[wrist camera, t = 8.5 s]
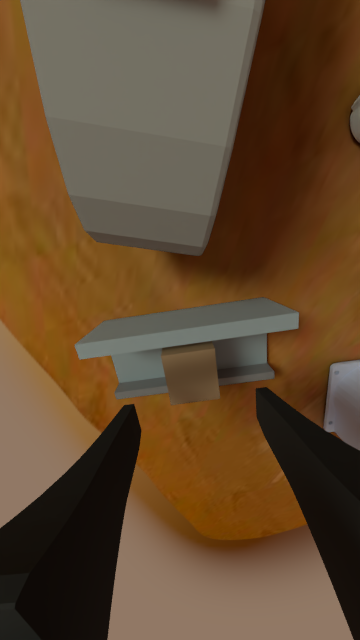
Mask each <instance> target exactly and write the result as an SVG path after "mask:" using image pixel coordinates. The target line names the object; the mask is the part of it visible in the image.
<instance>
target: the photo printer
mask: <svg viewBox="0 0 360 640" xmlns="http://www.w3.org/2000/svg"><path fill="white" fill-rule="evenodd" d="M351 109H352V110H353V111H352V114H351V116H350V127H351V131H352V134H353V136H354V138H355V139H356V140H357V141H358V142H359V143H360V95H359V97H358V98H357V99H356V101H355V102H354V104H353V105H352V107H351Z"/></svg>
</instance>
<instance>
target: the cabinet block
mask: <svg viewBox="0 0 360 640" xmlns="http://www.w3.org/2000/svg"><path fill="white" fill-rule="evenodd" d="M161 359H162V364H163V369H164V374H165V378H166V383H167V388H168V393H169V397H170V402H171V405H176V404H183V403H190V402H198V401H205V400H213V399H220V392H219V383H218V374H217V365H216V356H215V348H214V346H213V343H212V341H207V342H200V343H193V344H186V345H179V346H172V347H164V348H162V353H161Z"/></svg>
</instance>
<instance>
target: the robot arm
mask: <svg viewBox="0 0 360 640" xmlns="http://www.w3.org/2000/svg"><path fill="white" fill-rule="evenodd" d="M335 371H336V372H335ZM256 412H257V419H258V421H259V424H260V426H261V429H262V431H263V434H264V436H265V438H266V440H267V442H268V444H269V446H270V447H271V449H272V451H273V453H274V455H275V457H276V459H277V461H278V463H279V464H280V466H281V468H282V470H283V472H284V474H285V476H286V478H287V480H288V482H289V484H290V486H291V488H292V490H293V492H294V494H295V496H296V499H297V501H298V503H299V505H300V508H301V510H302V512H303V515H304V517H305V519H306V522H307V524H308V526H309V529H310V531H311V534H312V536H313V538H314V541H315V543H316V545H317V548H318V550H319V553H320V555H321V557H322V560H323V563H324V565H325V568H326V570H327V572H328V575H329V577H330V580H331V582H332V585H333V587H334V590H335V592H336V595H337V598H338V600H339V603H340V605H341V608H342V610H343V613H344V616H345V618H346V620H347V623H348V626H349V628H350V631H351V634H352V636H353V639H354V640H360V360H355V361H347V362H340V363H334V364H332V365H331V366H330V373H329V382H328V391H327V400H326V409H325V419H324V429H325V430H324V429H322V428H321V427H319V426H318V425H316V424H315V423H313V422H312V421H310V420H309V419H308V418H306V417H305V416H303V415H302V414H301V413H299V412H298V411H296V410H295V409H294V408H292V407H291V406H290V405H288V404H287V403H286V402H285V401H283V400H282V399H281V398H279V397H278V396H277V395H276V394H274V393H273V392H272V391H271V390H269V389H268V388H267V387H264V388H256ZM329 432H335V433H336V434H337V435H338V436H339V437H340V438H341V439H342V440H343V441H342V440H340V439H339V438H337V437H335V436H334V435H332V434H330V433H329ZM140 438H141V427H140V424H139V420H138V416H137V413H136V409H135V406H134V404H131V405H124V406H123V407H122V409H121V410H120V411H119V412H118V414H117V415H116V416H115V417H114V419H113V420H112V421H111V422H110V424H109V425H108V426H107V427H106V429H105V430H104V431H103V432H102V434H101V435H100V436H99V437H98V438H97V440H96V441H95V442H94V443H93V444H92V445H91V447H90V448H89V449H88V450H87V451H86V452H85V453H84V454H83V455H82V456H81V458H80V459H79V460H78V461H77V462H76V463H75V464H74V465H73V466H72V467H71V468H70V469H69V470H68V471H67V472H66V473H65V474H64V475H63V476H62V477H60V478H59V479H58V480H57V481H56V482H55V483H54V484H53V485H52V486H51V487H49V488H48V489H47V490H46V491H45V492H44V493H43V494H42V495H41V496H40V497H38V498H37V499H36V500H35V501H34V502H32V503H31V504H30V505H29V506H28V507H26V508H25V509H24V510H23V511H21V512H20V513H19V514H18V515H17V516H15V517H14V518H13V519H12V520H10V521H9V522H8V523H6V524H5V525H4V526H3V527H1V528H0V640H107V638H108V629H109V620H110V611H111V603H112V595H113V587H114V580H115V572H116V565H117V558H118V551H119V544H120V537H121V530H122V524H123V519H124V513H125V507H126V502H127V497H128V493H129V489H130V485H131V481H132V477H133V472H134V468H135V464H136V460H137V456H138V451H139V446H140Z"/></svg>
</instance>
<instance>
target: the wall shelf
mask: <svg viewBox="0 0 360 640" xmlns="http://www.w3.org/2000/svg"><path fill="white" fill-rule="evenodd" d="M298 323H299V312H297V311H294V310H292V309H290V308H287V307H285V306H283V305H281V304H278V303H276V302H274V301H271V300H269V299H267V298H264V297H262V298H255V299H248V300H241V301H235V302H228V303H221V304H215V305H208V306H201V307H194V308H188V309H181V310H174V311H168V312H161V313H154V314H147V315H141V316H134V317H127V318H120V319H114V320H107V321H103V322H102V323H101V324H100V325H98V326H97V327H96V328H95V329H93V330H92V331H91V332H90V333H89V334H87V335H86V336H85V337H84V338H82V339H81V340H80V341H79V342H77V343H76V344H75V348H76V351H77V353H78V356H79V359H87V358H94V357H101V356H108V355H111V356H112V359H113V363H114V366H115V370H116V373H117V376H118V380H119V385H118V387H117V389H116V391H115V396H116V399H123V398H130V397H138V396H145V395H153V394H160V393H168V388H167V383H166V378H165V374H164V369H163V364H162V359H161V353H162V348H164V347H172V346H179V345H186V344H193V343H200V342H207V341H212V343H213V346H214V348H215V356H216V365H217V374H218V383H219V386H221V385H229V384H236V383H244V382H251V381H259V380H266V379H274V371H273V369H272V368H271V367H270V366H269V365H268V364H267V333H270V332H278V331H285V330H292V329H298Z"/></svg>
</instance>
